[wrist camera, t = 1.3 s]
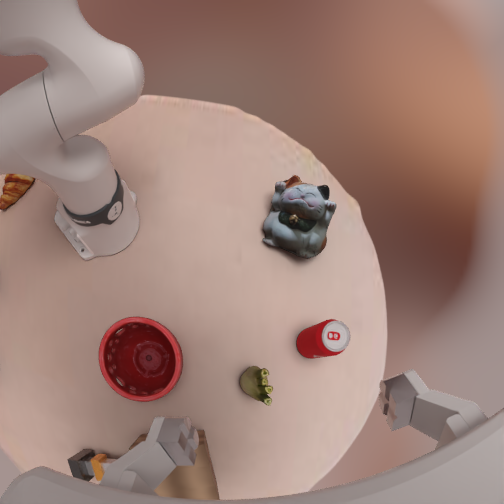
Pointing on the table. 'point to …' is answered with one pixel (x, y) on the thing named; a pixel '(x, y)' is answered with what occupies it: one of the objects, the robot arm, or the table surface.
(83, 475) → the gray orange banded block
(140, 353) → the plant pot
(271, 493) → the table surface
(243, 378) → the fennel bulb
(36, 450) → the table surface
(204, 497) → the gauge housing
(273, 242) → the lucky cat figurine
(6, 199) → the croissant
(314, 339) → the beverage can
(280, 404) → the table surface
